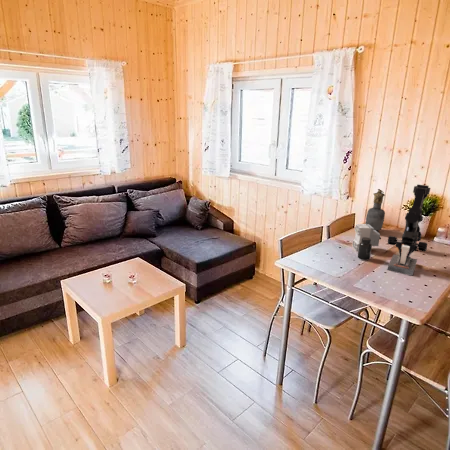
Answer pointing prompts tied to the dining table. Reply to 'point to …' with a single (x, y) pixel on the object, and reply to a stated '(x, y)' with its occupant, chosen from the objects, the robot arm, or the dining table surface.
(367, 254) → the supplement bottle
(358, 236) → the circuit breaker
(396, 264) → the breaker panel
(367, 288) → the dining table surface
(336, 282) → the dining table surface
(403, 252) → the handle
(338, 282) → the dining table surface
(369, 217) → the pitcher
